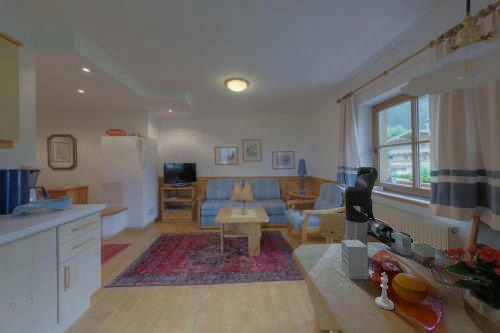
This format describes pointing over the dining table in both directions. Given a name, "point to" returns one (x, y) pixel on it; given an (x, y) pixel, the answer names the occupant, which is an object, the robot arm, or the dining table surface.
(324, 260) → the dining table surface
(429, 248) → the tower top block
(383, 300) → the chess piece
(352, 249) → the supplement box
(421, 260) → the tower base block
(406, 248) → the medicine box
